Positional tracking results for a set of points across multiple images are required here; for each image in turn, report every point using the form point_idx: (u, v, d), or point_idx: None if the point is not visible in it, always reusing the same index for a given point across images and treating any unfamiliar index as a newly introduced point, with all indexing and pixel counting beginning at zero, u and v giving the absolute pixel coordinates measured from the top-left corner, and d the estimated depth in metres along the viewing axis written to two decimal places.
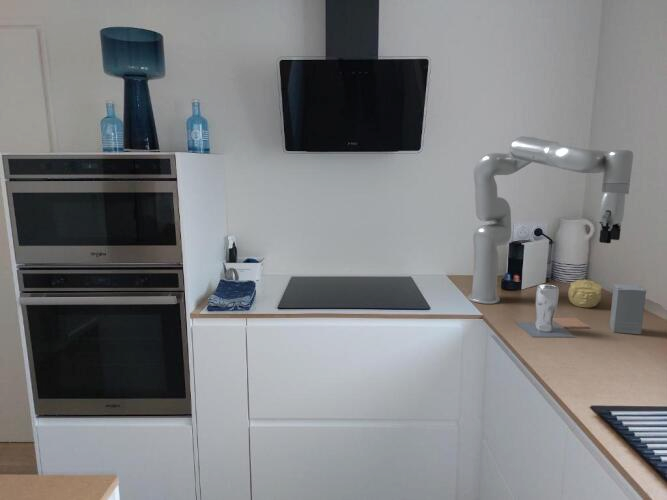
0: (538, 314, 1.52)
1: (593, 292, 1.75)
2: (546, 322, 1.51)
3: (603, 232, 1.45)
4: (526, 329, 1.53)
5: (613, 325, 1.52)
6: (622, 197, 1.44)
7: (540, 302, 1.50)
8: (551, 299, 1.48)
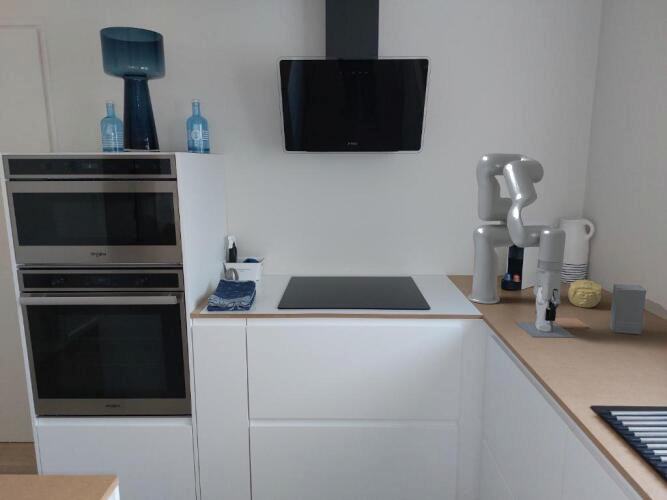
0: (538, 314, 1.52)
1: (593, 292, 1.75)
2: (546, 322, 1.51)
3: (550, 311, 1.48)
4: (526, 329, 1.53)
5: (613, 325, 1.52)
6: None
7: (540, 302, 1.50)
8: (551, 299, 1.48)
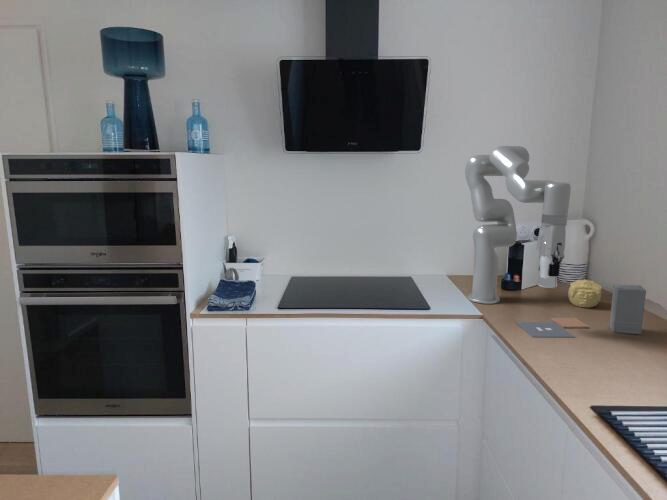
0: (541, 270, 1.50)
1: (593, 292, 1.75)
2: (549, 278, 1.48)
3: (554, 266, 1.46)
4: (526, 329, 1.53)
5: (613, 325, 1.52)
6: None
7: (544, 257, 1.48)
8: (555, 254, 1.46)
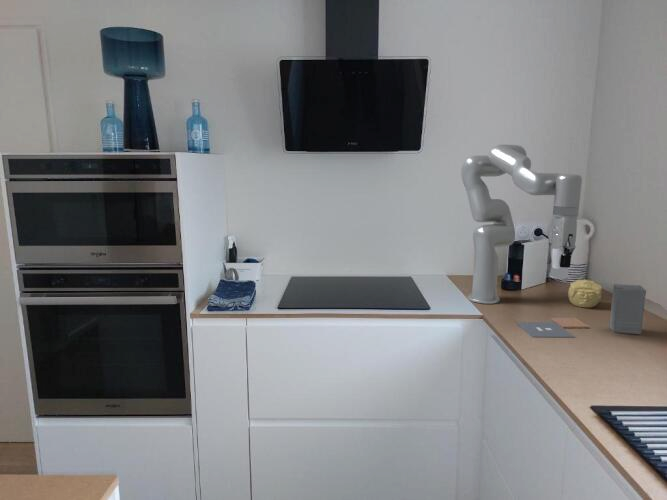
0: (553, 261, 1.51)
1: (593, 292, 1.75)
2: (561, 269, 1.50)
3: (565, 257, 1.47)
4: (526, 329, 1.53)
5: (613, 325, 1.52)
6: None
7: (555, 249, 1.49)
8: (566, 245, 1.48)
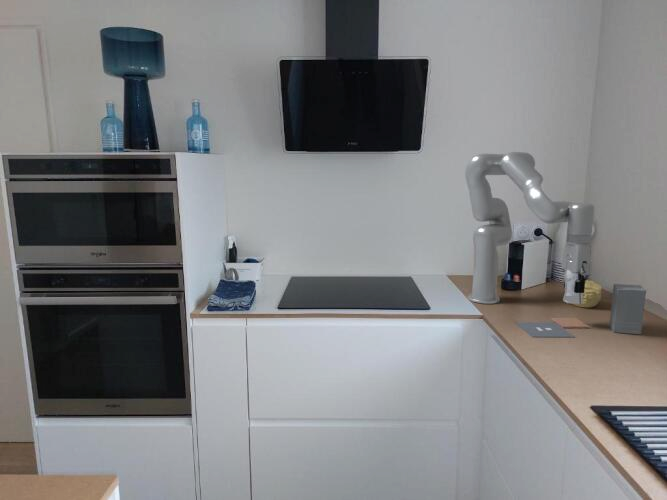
0: (567, 287, 1.56)
1: (593, 292, 1.75)
2: (575, 294, 1.55)
3: (580, 283, 1.53)
4: (526, 329, 1.53)
5: (613, 325, 1.52)
6: None
7: (569, 275, 1.55)
8: (580, 271, 1.53)
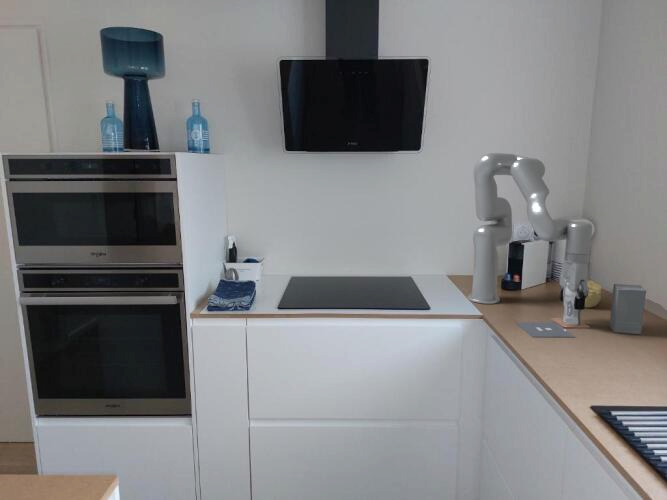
0: (566, 308, 1.57)
1: (593, 292, 1.75)
2: (574, 316, 1.56)
3: (580, 300, 1.52)
4: (526, 329, 1.53)
5: (613, 325, 1.52)
6: None
7: (568, 296, 1.55)
8: (579, 293, 1.54)
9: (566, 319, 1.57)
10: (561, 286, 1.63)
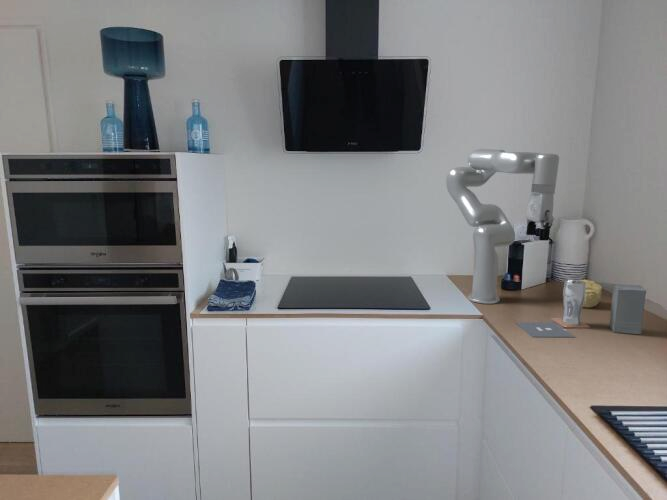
0: (566, 308, 1.57)
1: (593, 292, 1.75)
2: (574, 316, 1.56)
3: (544, 231, 1.55)
4: (526, 329, 1.53)
5: (613, 325, 1.52)
6: None
7: (568, 297, 1.55)
8: (579, 293, 1.54)
9: (566, 319, 1.57)
10: (528, 220, 1.65)
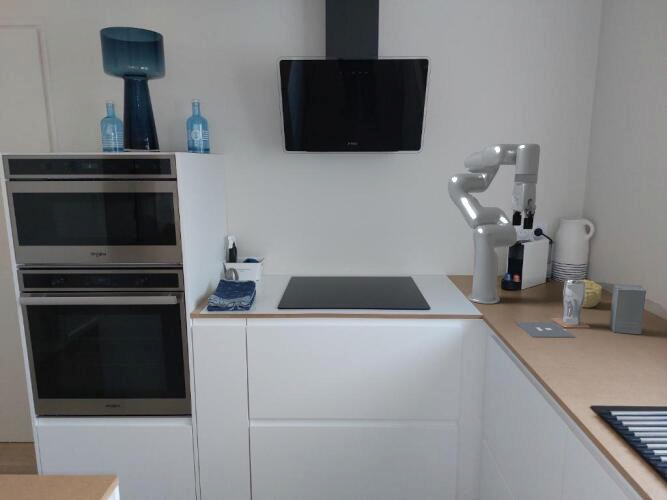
0: (566, 308, 1.57)
1: (593, 292, 1.75)
2: (574, 316, 1.56)
3: (528, 219, 1.56)
4: (526, 329, 1.53)
5: (613, 325, 1.52)
6: None
7: (568, 297, 1.55)
8: (579, 293, 1.54)
9: (566, 319, 1.57)
10: (513, 211, 1.67)
